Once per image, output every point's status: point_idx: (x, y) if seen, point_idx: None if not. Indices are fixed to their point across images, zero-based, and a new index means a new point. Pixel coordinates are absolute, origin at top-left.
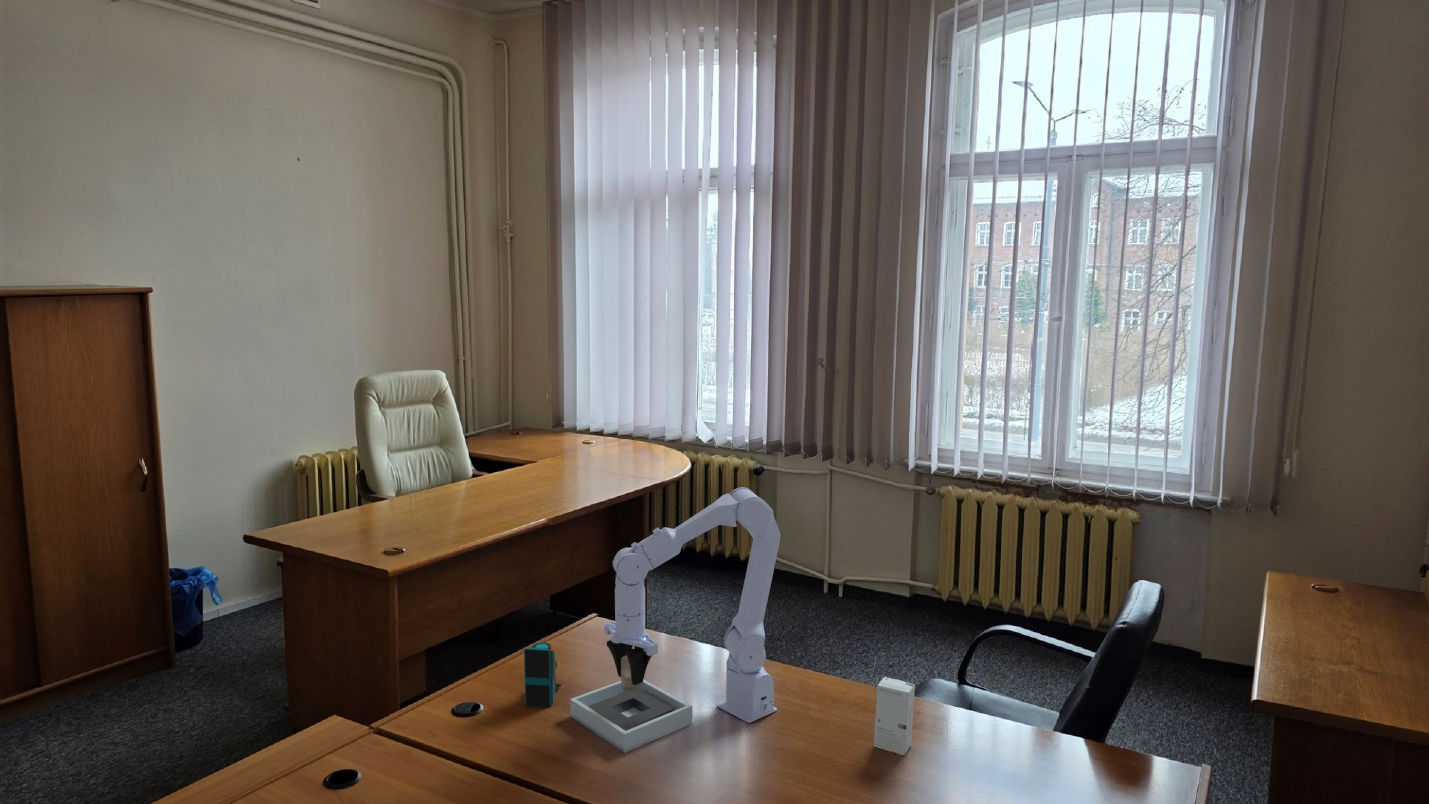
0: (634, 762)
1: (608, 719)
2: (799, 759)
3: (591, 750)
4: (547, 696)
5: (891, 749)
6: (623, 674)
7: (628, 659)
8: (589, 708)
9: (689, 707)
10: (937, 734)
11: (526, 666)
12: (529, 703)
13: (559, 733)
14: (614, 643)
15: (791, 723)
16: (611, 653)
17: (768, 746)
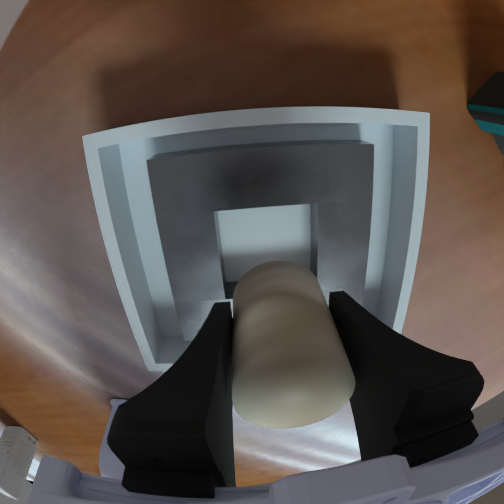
0: (60, 133)
1: (242, 149)
2: (4, 371)
3: (178, 52)
4: (490, 102)
5: (9, 428)
6: (281, 304)
7: (207, 389)
8: (330, 119)
9: (145, 364)
10: (40, 460)
11: None
12: (498, 75)
13: (333, 28)
14: (422, 415)
15: (93, 425)
16: (419, 344)
17: (38, 371)
